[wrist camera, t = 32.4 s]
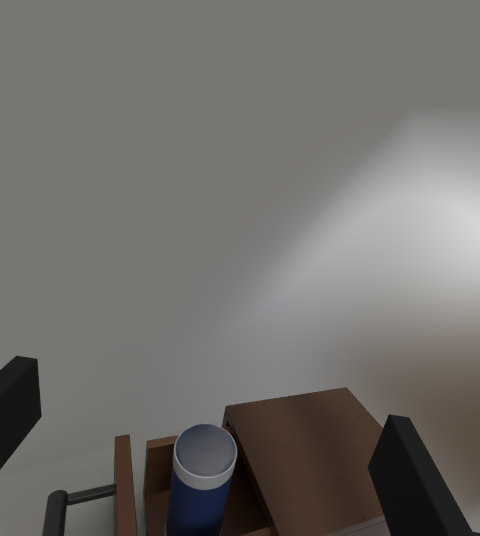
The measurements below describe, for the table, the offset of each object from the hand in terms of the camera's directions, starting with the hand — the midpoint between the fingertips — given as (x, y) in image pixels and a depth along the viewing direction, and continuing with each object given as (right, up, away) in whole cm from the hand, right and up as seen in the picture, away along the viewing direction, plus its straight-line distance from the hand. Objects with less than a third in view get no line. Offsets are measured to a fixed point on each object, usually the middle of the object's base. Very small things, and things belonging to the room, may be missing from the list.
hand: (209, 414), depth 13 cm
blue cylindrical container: (-3, -17, +16) cm, 24 cm away
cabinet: (+7, -19, +21) cm, 29 cm away
